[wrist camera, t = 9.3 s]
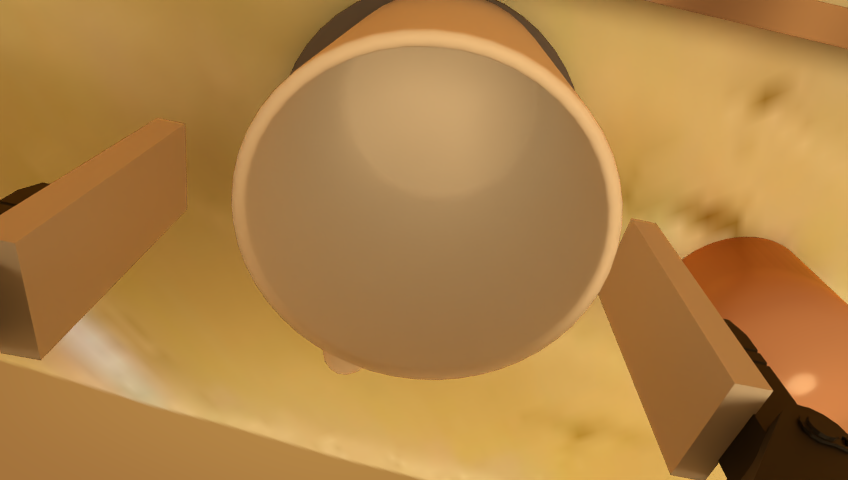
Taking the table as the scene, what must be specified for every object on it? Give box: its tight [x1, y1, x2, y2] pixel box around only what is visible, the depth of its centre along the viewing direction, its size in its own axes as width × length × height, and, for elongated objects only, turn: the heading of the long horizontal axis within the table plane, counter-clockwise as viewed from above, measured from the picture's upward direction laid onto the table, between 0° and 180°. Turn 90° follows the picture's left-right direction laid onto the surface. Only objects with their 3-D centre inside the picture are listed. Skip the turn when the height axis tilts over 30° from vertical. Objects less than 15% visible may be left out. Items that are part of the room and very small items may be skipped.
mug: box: [232, 0, 623, 380], centre depth 17 cm, size 12×8×10 cm
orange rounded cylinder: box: [682, 237, 848, 434], centre depth 21 cm, size 6×6×7 cm
